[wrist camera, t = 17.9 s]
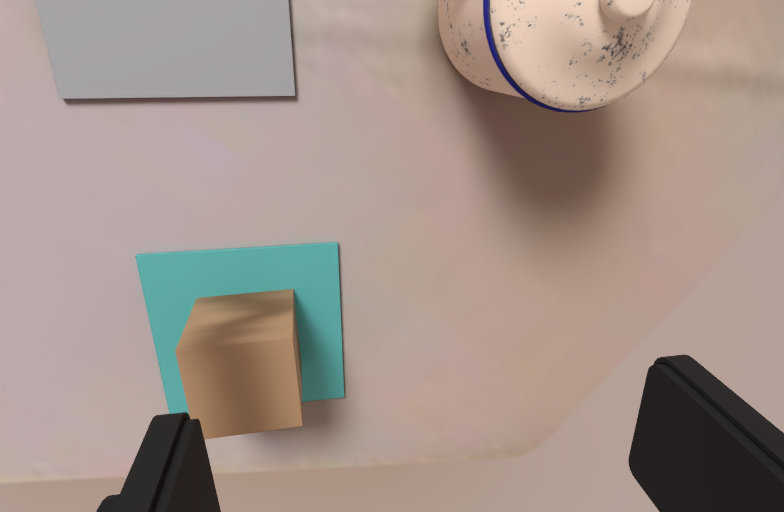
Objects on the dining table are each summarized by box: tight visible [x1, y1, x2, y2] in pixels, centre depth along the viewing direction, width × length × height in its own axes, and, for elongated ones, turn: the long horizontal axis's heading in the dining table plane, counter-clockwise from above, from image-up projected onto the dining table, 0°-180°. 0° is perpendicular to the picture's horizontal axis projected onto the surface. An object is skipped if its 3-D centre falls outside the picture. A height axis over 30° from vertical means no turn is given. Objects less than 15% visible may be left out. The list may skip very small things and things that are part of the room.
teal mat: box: [136, 242, 344, 414], centre depth 33 cm, size 12×12×1 cm
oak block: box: [175, 289, 303, 439], centre depth 30 cm, size 6×6×6 cm
